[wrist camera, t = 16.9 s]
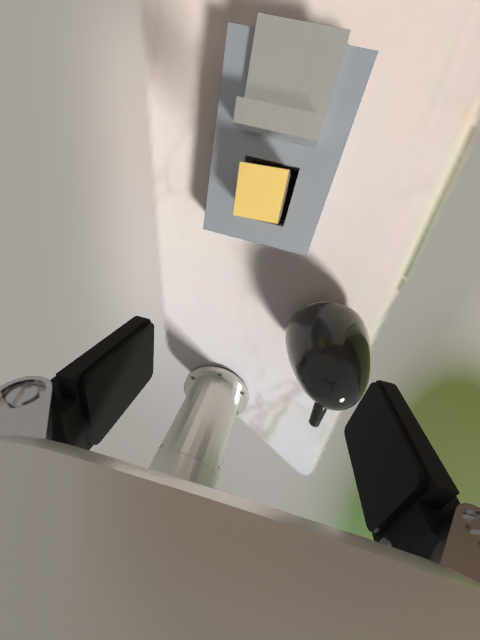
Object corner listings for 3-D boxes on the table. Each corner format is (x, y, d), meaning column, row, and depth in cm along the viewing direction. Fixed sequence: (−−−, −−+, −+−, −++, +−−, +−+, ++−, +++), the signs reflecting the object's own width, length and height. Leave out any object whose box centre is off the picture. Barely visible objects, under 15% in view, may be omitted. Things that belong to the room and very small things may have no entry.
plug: (282, 214, 29) (277, 224, 21) (250, 208, 30) (232, 215, 21) (291, 175, 27) (289, 169, 19) (256, 169, 28) (239, 160, 19)
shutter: (315, 147, 21) (317, 141, 19) (240, 130, 22) (232, 121, 19) (348, 35, 18) (358, 7, 15) (259, 19, 18) (252, -13, 16)
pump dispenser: (276, 339, 38) (266, 418, 25) (302, 281, 33) (307, 341, 20) (337, 361, 38) (360, 452, 24) (373, 305, 32) (427, 383, 19)
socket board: (304, 246, 30) (306, 255, 26) (215, 223, 31) (203, 228, 27) (362, 77, 22) (378, 51, 18) (240, 53, 23) (227, 22, 19)
